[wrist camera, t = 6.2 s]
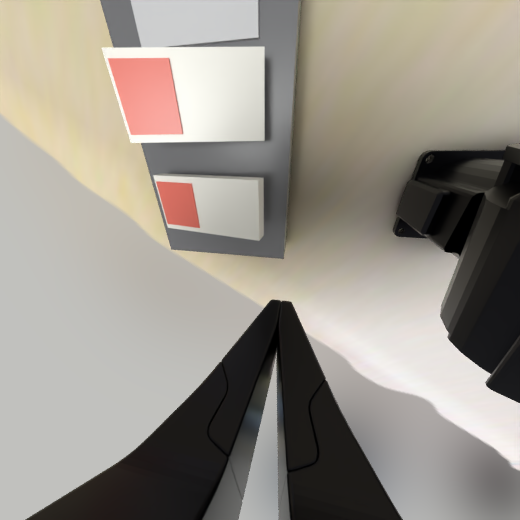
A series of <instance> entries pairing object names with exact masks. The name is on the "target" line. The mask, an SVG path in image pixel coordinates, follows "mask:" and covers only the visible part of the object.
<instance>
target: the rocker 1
mask: <svg viewBox="0 0 520 520" xmlns="http://www.w3.org/2000/svg"><path fill="white" fill-rule="evenodd" d="M102 51H103V54H104V58H105V61H106V64H107V67H108V71H109V74H110V77H111V80H112V83H113V87H114V90H115V93H116V96H117V100H118V103H119V106H120V109H121V113H122V116H123V119H124V122H125V125H126V129H127V132H128V135H129V138H130V142H131V143H160V142H225V141H265V47H131V48H102Z"/></svg>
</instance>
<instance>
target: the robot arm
mask: <svg viewBox="0 0 520 520" xmlns="http://www.w3.org/2000/svg"><path fill="white" fill-rule="evenodd" d="M429 155H431V159H430V161H428V162H426V158H427V157H428V156H429ZM397 215H398V218H397V220H396V223H395V226H394V228H393V233H394V234H395V235H396V236H399V237H413V238H428V239H430V240H431V241H432V242H433V243H435V244H436V245H437V246H438V247H440V248H441V249H442V250H444V251H445V252H448V253H452V254H453V255H455V256H456V257H457V258H459V261H458V264H457V266H456V269H455V271H454V274H453V277H452V279H451V282H450V284H449V287H448V290H447V292H446V295H445V297H444V300H443V303H442V305H441V314H440V317H441V319H442V321H443V323H444V325H445V327H446V329H447V331H448V332H449V334H448V339H449V340H450V341H451V342H452V343H453V345H454V346H455V347H456V348H457V349H458V350H459V351H460V352H461V353H463V354H464V355H465V356H466V357H468V358H469V359H470V360H472V361H473V362H474V363H475V364H477V365H478V366H479V367H481V368H482V369H484V370H485V371H487V372H489V373H490V374H491V375H490V377H489V378H488V380H487V381H486V382H485V383H486V385H487V387H488V388H490V389H491V390H493V391H495V392H497V393H499V394H501V395H503V396H506V397H508V398H510V399H512V400H514V401H516V402H518V403H520V143H518V144H511V145H507V147H506V150H462V151H427V152H425V153H423V154H422V155H421V157H420V158H419V161H418V164H417V166H416V169H415V172H414V174H413V177H412V180H411V181H410V182H408V183H407V186H406V189H405V191H404V194H403V197H402V200H401V202H400V205H399V208H398V211H397ZM402 228H403V230H402V231H401V232H398V231H399V230H400V229H402ZM276 352H277V426H278V427H277V432H278V505H279V506H278V507H279V520H403V519H402V518H401V516H400V515H399V513H398V511H397V510H396V508H395V506H394V505H393V503H392V501H391V500H390V498H389V496H388V494H387V492H386V491H385V489H384V488H383V485H382V484H381V482H380V480H379V479H378V477H377V475H376V473H375V471H374V470H373V468H372V466H371V464H370V462H369V461H368V459H367V457H366V456H365V454H364V452H363V450H362V449H361V447H360V445H359V443H358V441H357V440H356V438H355V436H354V435H353V432H352V431H351V429H350V427H349V425H348V423H347V421H346V419H345V418H344V416H343V414H342V412H341V410H340V408H339V406H338V404H337V402H336V400H335V398H334V395H333V393H332V391H331V389H330V387H329V385H328V382H327V381H326V380H325V379H326V378H325V376H324V374H323V371H322V369H321V367H320V365H319V363H318V360H317V358H316V356H315V354H314V351H313V349H312V347H311V344H310V342H309V340H308V338H307V336H306V333H305V331H304V329H303V327H302V324H301V322H300V320H299V318H298V315H297V313H296V311H295V309H294V306H293V304H292V302H289V301H282V302H281V301H280V300H271V301H270V302H269V303H268V304H267V305H266V307H265V308H264V309H263V310H262V312H261V313H260V314H259V315H258V316H257V318H256V319H255V320H254V321H253V323H252V324H251V325H250V326H249V327H248V329H247V330H246V331H245V332H244V334H243V335H242V336H241V337H240V338H239V340H238V341H237V342H236V343H235V345H234V346H233V347H232V348H231V349H230V351H229V352H228V353H227V355H225V357H224V358H223V359H222V362H220V363H219V364H218V365H217V366H216V367H215V369H214V370H213V371H212V372H211V374H210V375H209V376H208V377H207V378H206V379H205V380H204V381H203V383H202V384H201V385H200V386H199V387H198V388H197V389H196V390H195V391H194V392H193V393H192V394H191V395H190V396H189V397H188V398H187V399H186V400H185V402H183V403H182V404H181V405H180V406H179V407H178V408H177V409H176V410H175V411H174V412H173V413H172V414H171V415H170V416H169V417H168V418H167V419H166V420H165V421H164V422H163V423H162V424H161V425H160V426H159V427H158V428H157V429H156V430H155V431H154V432H153V433H152V434H151V435H150V436H149V437H148V438H147V439H146V440H145V441H144V442H143V443H142V444H141V445H140V446H138V447H137V448H136V449H135V450H134V451H133V452H131V453H130V454H129V455H127V456H126V457H125V458H123V459H122V460H121V461H119V462H118V463H116V464H115V465H113V466H112V467H110V468H108V469H107V470H105V471H103V472H102V473H100V474H99V475H97V476H95V477H94V478H92V479H91V480H89V481H87V482H86V483H84V484H83V485H81V486H79V487H78V488H76V489H74V490H73V491H71V492H69V493H68V494H66V495H65V496H63V497H62V498H60V499H58V500H57V501H55V502H53V503H52V504H50V505H48V506H47V507H45V508H44V509H42V510H40V511H39V512H37V513H35V514H34V515H32V516H31V517H29V518H27V519H26V520H238V519H239V514H240V510H241V506H242V500H243V497H244V492H245V488H246V484H247V479H248V475H249V471H250V466H251V462H252V458H253V453H254V449H255V445H256V440H257V436H258V432H259V427H260V423H261V419H262V414H263V410H264V406H265V401H266V397H267V392H268V388H269V384H270V380H271V375H272V371H273V367H274V362H275V358H276Z"/></svg>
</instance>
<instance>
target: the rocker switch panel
mask: <svg viewBox="0 0 520 520" xmlns="http://www.w3.org/2000/svg"><path fill="white" fill-rule="evenodd" d="M100 1H101V5H102V8H103V12H104V15H105V19H106V22H107V26H108V29H109V33H110V36H111V40H112V43H113V47H114V48H131V47H265V141H225V142H160V143H141V145H142V148H143V152H144V155H145V159H146V162H147V166H148V169H149V173H150V176H151V180H152V183H153V187H154V190H155V194H156V197H157V201H158V204H159V208H160V211H161V215H162V218H163V222H164V225H165V229H166V232H167V236H168V239H169V243H170V246H171V249H173V250H185V251H197V252H209V253H221V254H233V255H245V256H257V257H269V258H281V259H284V252H285V246H286V233H287V218H288V202H289V186H290V170H291V154H292V139H293V123H294V107H295V91H296V76H297V60H298V44H299V28H300V12H301V0H100ZM162 173H168V174H191V175H214V176H237V177H259V178H264V236H263V237H262V238H261V239H260V241H257V240H250V239H243V238H236V237H229V236H222V235H215V234H208V233H201V232H194V231H187V230H180V229H173V228H168V227H167V223H166V219H165V216H164V212H163V209H162V205H161V202H160V198H159V194H158V191H157V187H156V184H155V180H154V176H153V175H157V174H162Z"/></svg>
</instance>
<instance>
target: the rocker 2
mask: <svg viewBox="0 0 520 520" xmlns="http://www.w3.org/2000/svg"><path fill="white" fill-rule="evenodd" d="M153 176H154V180H155V184H156V187H157V191H158V194H159V198H160V202H161V205H162V209H163V212H164V216H165V219H166V223H167V227H168V228H173V229H180V230H187V231H194V232H201V233H208V234H215V235H222V236H229V237H236V238H243V239H250V240H257V241H260V239H261V238H262V237H263V236H264V178H259V177H237V176H214V175H191V174H168V173H162V174H157V175H153Z"/></svg>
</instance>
